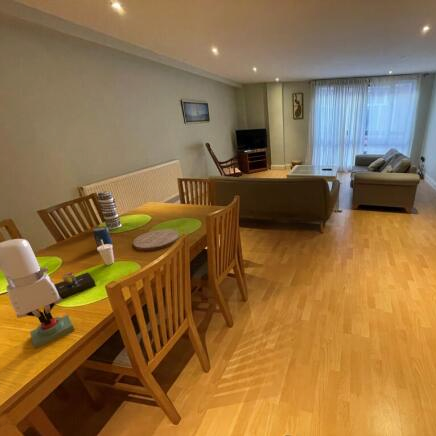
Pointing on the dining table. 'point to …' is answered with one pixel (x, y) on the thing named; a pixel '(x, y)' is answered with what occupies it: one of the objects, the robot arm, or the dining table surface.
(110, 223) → the grey ringed cylinder
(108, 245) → the smoothie
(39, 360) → the dining table surface
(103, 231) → the soda can
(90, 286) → the hob panel
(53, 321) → the power button
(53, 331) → the push button box
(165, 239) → the trivet
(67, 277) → the hob knob
